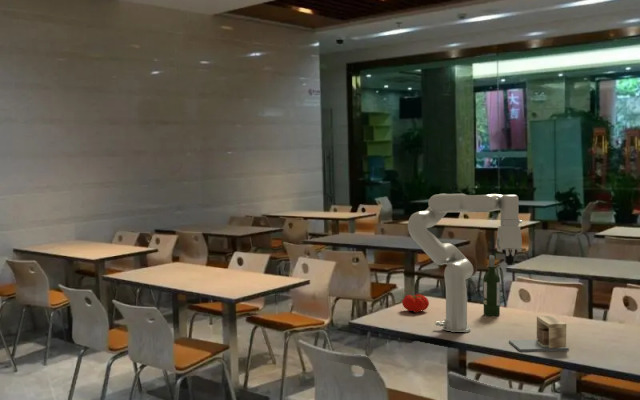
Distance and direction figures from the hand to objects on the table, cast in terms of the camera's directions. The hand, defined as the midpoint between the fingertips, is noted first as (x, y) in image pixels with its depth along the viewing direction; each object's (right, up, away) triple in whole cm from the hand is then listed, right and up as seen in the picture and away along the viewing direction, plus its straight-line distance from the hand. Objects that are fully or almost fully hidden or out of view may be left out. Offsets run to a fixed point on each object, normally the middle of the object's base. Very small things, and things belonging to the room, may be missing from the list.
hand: (509, 264), depth 293 cm
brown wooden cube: (+12, -31, -14) cm, 36 cm away
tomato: (-33, -30, +54) cm, 70 cm away
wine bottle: (+4, -30, +45) cm, 54 cm away
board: (+8, -33, -14) cm, 37 cm away
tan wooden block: (+13, -31, -14) cm, 37 cm away
